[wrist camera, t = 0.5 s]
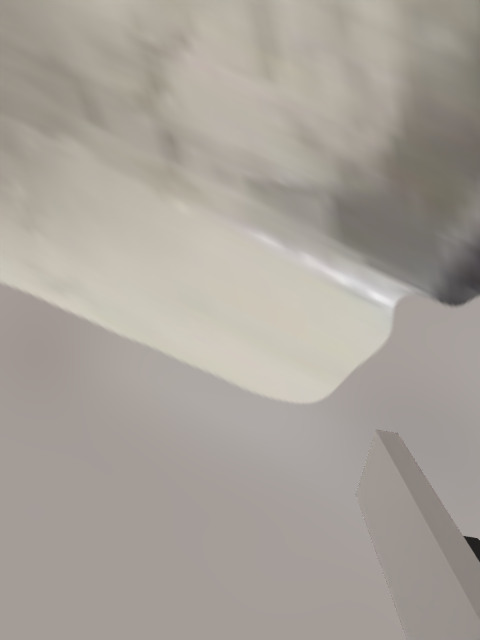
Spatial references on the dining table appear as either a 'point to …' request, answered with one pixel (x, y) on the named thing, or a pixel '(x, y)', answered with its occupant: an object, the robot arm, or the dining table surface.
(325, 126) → the dining table surface
